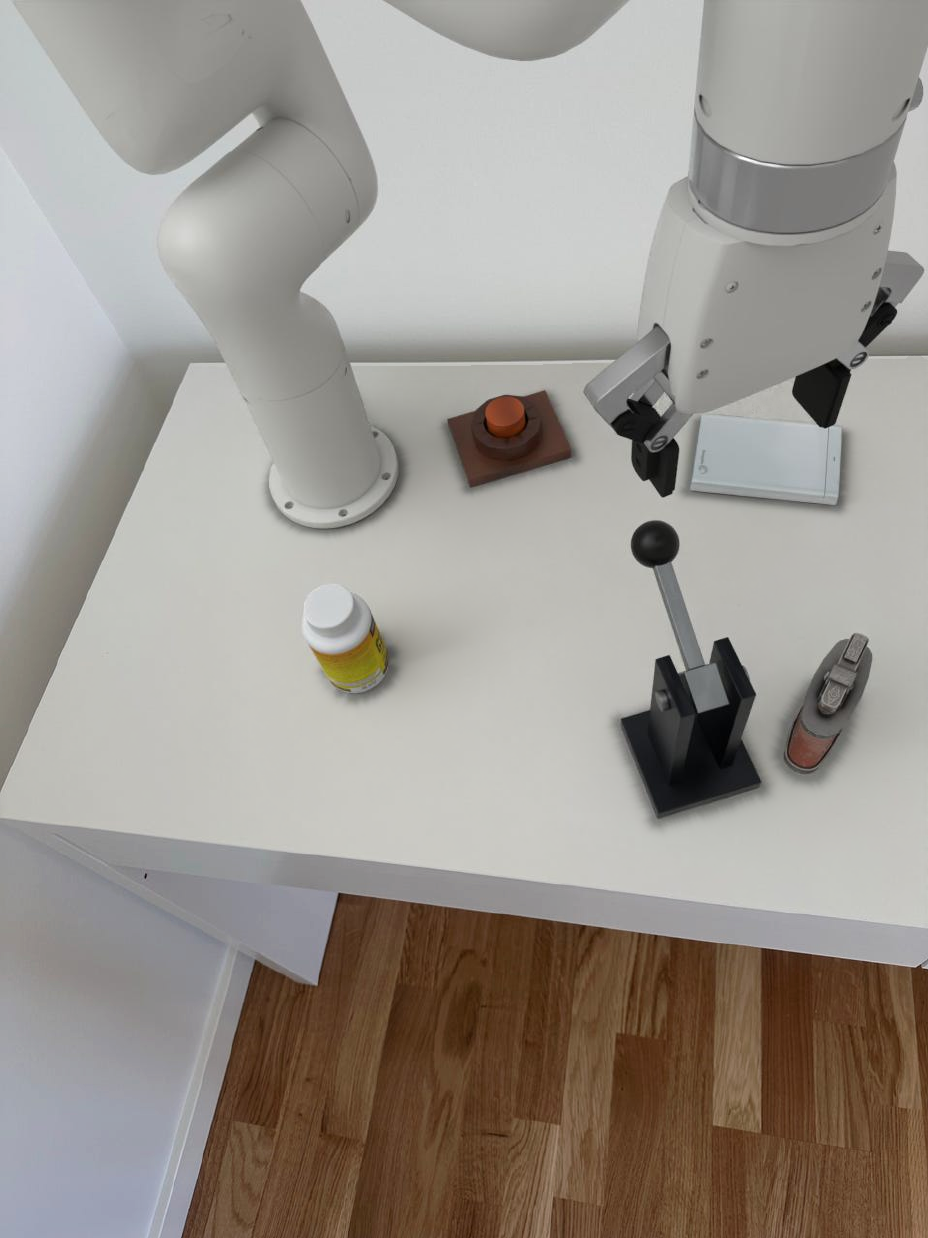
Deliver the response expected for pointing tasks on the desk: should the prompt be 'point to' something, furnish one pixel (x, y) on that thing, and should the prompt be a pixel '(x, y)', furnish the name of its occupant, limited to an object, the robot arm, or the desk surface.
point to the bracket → (693, 738)
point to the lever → (678, 614)
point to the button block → (509, 441)
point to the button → (505, 417)
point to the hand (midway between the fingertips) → (733, 443)
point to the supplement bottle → (344, 638)
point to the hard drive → (767, 459)
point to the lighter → (828, 704)
